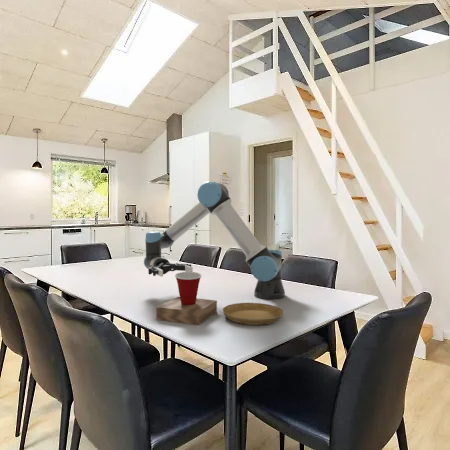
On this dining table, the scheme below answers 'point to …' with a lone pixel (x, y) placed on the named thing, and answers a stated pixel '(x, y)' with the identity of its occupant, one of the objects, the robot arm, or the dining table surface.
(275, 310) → the plant saucer
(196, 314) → the walnut podium
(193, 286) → the plastic cup
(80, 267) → the dining table surface
